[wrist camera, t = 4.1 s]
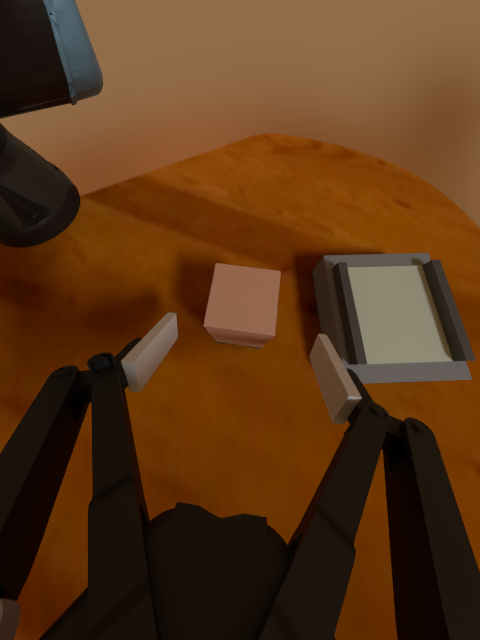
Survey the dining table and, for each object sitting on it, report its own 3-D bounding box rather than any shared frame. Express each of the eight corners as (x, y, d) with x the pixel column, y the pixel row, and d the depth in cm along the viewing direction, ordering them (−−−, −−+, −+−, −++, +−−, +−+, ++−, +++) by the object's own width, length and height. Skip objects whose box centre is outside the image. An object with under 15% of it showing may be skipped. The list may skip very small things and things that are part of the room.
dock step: (311, 271, 28) (329, 248, 23) (402, 268, 28) (440, 245, 23) (328, 381, 24) (354, 385, 18) (434, 377, 24) (490, 380, 19)
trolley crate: (260, 348, 25) (274, 335, 15) (217, 342, 25) (203, 325, 15) (265, 307, 26) (280, 271, 17) (224, 301, 26) (215, 262, 17)
